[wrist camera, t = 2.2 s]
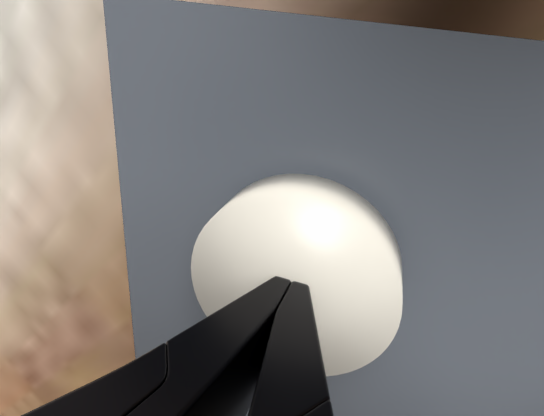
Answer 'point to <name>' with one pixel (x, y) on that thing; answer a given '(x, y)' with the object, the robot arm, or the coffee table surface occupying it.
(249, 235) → the knob
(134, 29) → the console block
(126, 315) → the coffee table surface
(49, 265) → the coffee table surface
